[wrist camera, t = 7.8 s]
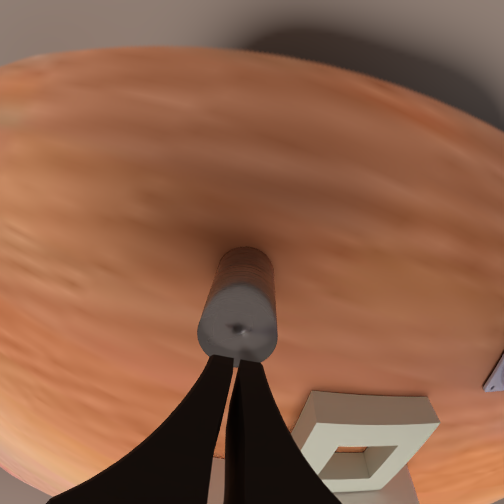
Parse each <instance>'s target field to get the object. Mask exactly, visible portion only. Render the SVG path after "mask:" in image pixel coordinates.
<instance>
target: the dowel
mask: <svg viewBox="0 0 504 504" xmlns="http://www.w3.org/2000/svg"><path fill="white" fill-rule="evenodd" d="M197 335H198V341H199V344H200V346H201V348H202V349H203V351H204V352H205V353H206V354H207V355H208V356H209V357H210V356H212V355H214V354H215V355H220V356H226V357H231V358H234V364H233V367H239V363H240V359H242V360H247V361H253V362H259V363H261V362H262V361H264V360H265V359H267V358H268V357H269V356H270V355H271V354H272V352H273V351H274V349H275V347H276V344H277V337H278V335H277V318H276V301H275V285H274V271H273V266H272V263H271V261H270V259H269V258H268V257H267V256H266V255H265V254H264V253H263V252H262V251H260V250H258V249H256V248H252V247H238V248H235V249H232V250H231V251H229V252H228V253H226V254H225V255H224V256H223V258H222V259H221V261H220V263H219V266H218V269H217V272H216V275H215V278H214V281H213V284H212V286H211V289H210V292H209V295H208V298H207V301H206V304H205V307H204V310H203V313H202V316H201V319H200V322H199V325H198V330H197Z"/></svg>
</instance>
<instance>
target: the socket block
mask: <svg viewBox="0 0 504 504" xmlns="http://www.w3.org/2000/svg"><path fill="white" fill-rule="evenodd" d="M439 424H440V421H439V419H438V417H437V414H436V413H435V411H434V409H433V407H432V405H431V403H430V401H429V399H428V397H401V396H374V395H357V394H343V393H331V392H321V391H311V393H310V395H309V397H308V400H307V402H306V404H305V406H304V408H303V410H302V412H301V414H300V416H299V419H298V421H297V423H296V425H295V427H294V429H293V431H292V433H291V435H292V437H293V439H294V441H295V443H296V444H297V446H298V448H299V449H300V451H301V452H302V454H303V455H304V457H305V458H306V460H307V461H308V463H309V464H310V466H311V467H312V468H313V470H314V471H315V472H316V474H317V475H318V476H319V478H320V479H321V480H322V482H323V483H324V484H325V485H326V486H327V487H328V488H329V490H330V491H331V492H354V491H369V490H380V489H382V488H383V487H384V486H385V485H386V484H387V483H388V482H389V481H390V480H391V479H392V478H393V477H394V476H395V475H396V474H397V473H398V472H399V471H400V470H401V469H402V468H403V466H404V465H405V464H406V463H407V462H408V461H409V460H410V459H411V458H412V457H413V455H414V454H415V453H416V452H417V451H418V450H419V449H420V447H421V446H422V445H423V444H424V443H425V442H426V440H427V439H428V438H429V437H430V435H431V434H432V433H433V432H434V430H435V429H436V428H437V427H438V425H439ZM338 446H348V447H365V446H368V447H367V449H366V450H365V451H364V452H363V453H335V451H336V449H337V448H338Z"/></svg>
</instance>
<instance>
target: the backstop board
mask: <svg viewBox="0 0 504 504" xmlns="http://www.w3.org/2000/svg"><path fill="white" fill-rule="evenodd" d="M224 482H225V459H221V458H215V457H213V461H212V469H211V477H210V485H209V493H208V501H207V504H223V501H224ZM332 493H333V494H334V495H335V496H336V497H337V498H338V499H339V500H340V502H341V503H342V504H419V501H418V498H417V495H416V491H415V488H414V485H413V482H412V479H411V476H410V473H409V470H408V467H407V464H405V465H404V466H403V468H402V469H401V470H400V471H399V472H398V473H397V474H396V475H395V476H394V477H393V478H392V479H391V480H390V481H389V482H388V483H387V484H386V485H385V486H384V487H383V488H382V489H380V490H369V491H354V492H332Z"/></svg>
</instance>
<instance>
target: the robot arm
mask: <svg viewBox="0 0 504 504" xmlns="http://www.w3.org/2000/svg"><path fill="white" fill-rule="evenodd" d="M233 364H234V358H231V357H226V356H220V355H215V354H214V355H212V356H210V357H209V360H208V362H207V364H206V366H205V368H204V370H203V372H202V374H201V375H200V377H199V378H198V380H197V381H196V383H195V384H194V386H193V387H192V388H191V390H190V391H189V392H188V394H187V395H186V397H185V398H184V399H183V400H182V402H181V403H180V404H179V405H178V406H177V407H176V409H175V410H174V411H173V412H172V413H171V414H170V415H169V417H168V418H167V419H166V420H165V421H164V422H163V423H162V424H161V425H160V426H159V427H158V428H157V429H156V430H155V431H154V432H153V433H152V434H151V435H150V436H148V437H147V438H146V439H145V440H144V441H143V442H142V443H140V444H139V445H138V446H137V447H136V448H134V449H133V450H132V451H131V452H129V453H128V454H127V455H125V456H124V457H123V458H121V459H120V460H119V461H117V462H116V463H114V464H113V465H111V466H110V467H108V468H107V469H105V470H103V471H102V472H100V473H99V474H97V475H96V476H94V477H92V478H91V479H89V480H87V481H85V482H83V483H82V484H80V485H78V486H75V487H73V488H71V489H69V490H67V491H65V492H63V493H61V494H59V495H57V496H54V497H52V498H51V499H50V500H49V501H48V502H47V503H46V504H207V501H208V493H209V485H210V477H211V469H212V461H213V454H214V449H215V446H216V442H217V438H218V434H219V431H220V426H221V422H222V418H223V413H224V409H225V405H226V400H227V396H228V392H229V387H230V383H231V379H232V374H233ZM483 390H484V391H485V392H493V391H504V354H503V356H502V358H501V359H500V361H499V363H498V364H497V366H496V368H495V369H494V371H493V373H492V374H491V376H490V377H489V379H488V380H487V382H486V383H485V385H484V387H483ZM223 504H342V503H341V502H340V500H339V499H338V498H337V497H336V496H335V495H334V494H333V493H332V492H331V491H330V490H329V488H328V487H327V486H326V485H325V484H324V483H323V482H322V480H321V479H320V478H319V476H318V475H317V474H316V472H315V471H314V470H313V468H312V467H311V466H310V464H309V463H308V461H307V460H306V458H305V457H304V455H303V454H302V452H301V451H300V449H299V448H298V446H297V444H296V443H295V441H294V439H293V437H292V435H291V434H290V432H289V430H288V428H287V426H286V424H285V422H284V420H283V418H282V416H281V414H280V412H279V409H278V407H277V405H276V403H275V400H274V398H273V395H272V393H271V390H270V388H269V385H268V382H267V379H266V376H265V372H264V368H263V366H262V364H261V363H259V362H253V361H247V360H242V359H240V363H239V367H238V371H237V375H236V380H235V384H234V388H233V392H232V396H231V400H230V405H229V412H228V419H227V426H226V439H225V482H224V501H223Z"/></svg>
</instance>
